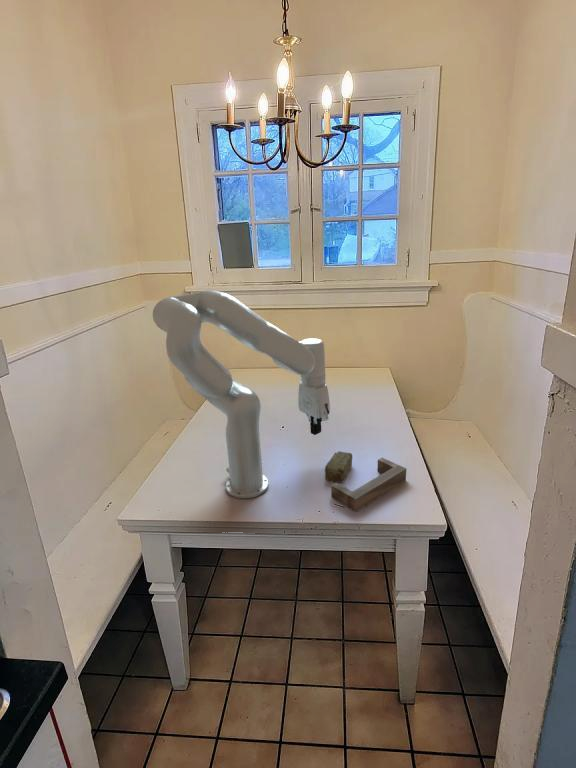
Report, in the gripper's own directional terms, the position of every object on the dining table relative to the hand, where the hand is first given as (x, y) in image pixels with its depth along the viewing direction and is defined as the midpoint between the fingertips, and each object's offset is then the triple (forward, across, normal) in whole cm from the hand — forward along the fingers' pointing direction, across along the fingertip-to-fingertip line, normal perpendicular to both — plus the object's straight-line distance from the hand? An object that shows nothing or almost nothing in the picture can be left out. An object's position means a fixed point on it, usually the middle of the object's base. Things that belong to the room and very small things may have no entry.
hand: (316, 432), depth 144 cm
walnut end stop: (+9, +23, -1) cm, 25 cm away
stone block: (+10, +11, -1) cm, 15 cm away
